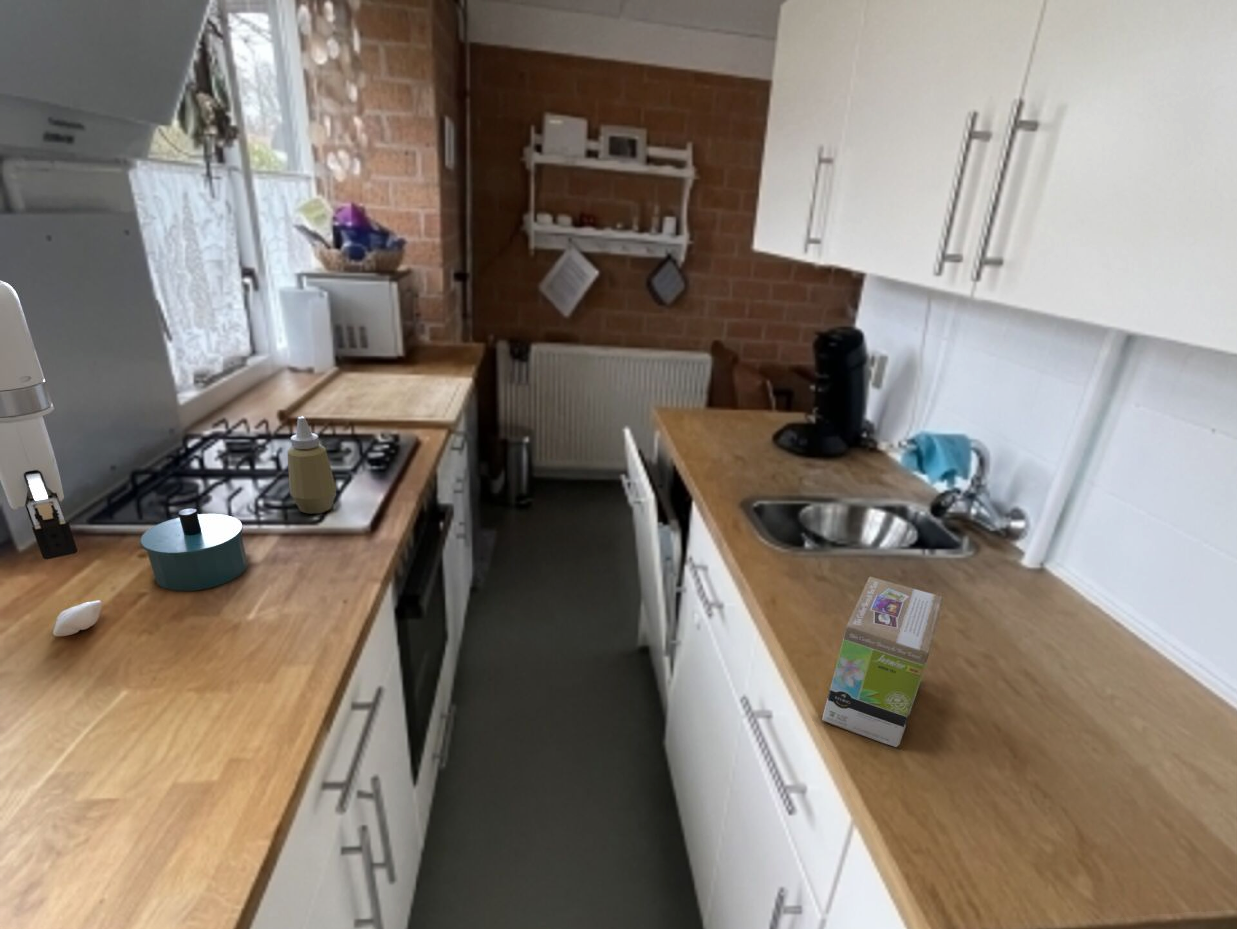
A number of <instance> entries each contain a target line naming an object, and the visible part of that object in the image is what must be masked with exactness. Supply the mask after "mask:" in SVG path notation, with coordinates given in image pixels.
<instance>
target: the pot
mask: <svg viewBox="0 0 1237 929" xmlns="http://www.w3.org/2000/svg"><path fill="white" fill-rule="evenodd" d="M245 549H246V548H245V545H244V541H243V536H242V533H241V534H240V535H239V536H238V537H237V538H236V539H235V540H233V541H232V542H230V543H228V544H226V545H224V546H221V547H219V548H216V549H213V550H209V551H205V552H201V553H195V554H188V555H160V554H155V553H151V552H149V551H147V550H146V552H147V556H148V559H149V563H150V567H151V569H152V573H153V577H154V579H155V582H156V583H157V584H158V585H159V586H160V587H162V588H164V589H166V590H170V591H175V592H176V591H177V592H193V591H201V590H206V589H210V588H215V587H217V586H221V585H223V584H226V583H229V582H231V581H233V580H235V579H236V578H238V577H239V576H240V575H242V574H243V573H244V572H245V570H246V569H247V567H248V566H247V565H248V563H247V562H248V558H247V554H246V550H245Z"/></svg>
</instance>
